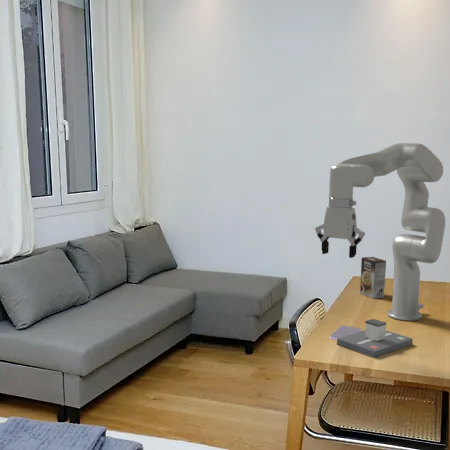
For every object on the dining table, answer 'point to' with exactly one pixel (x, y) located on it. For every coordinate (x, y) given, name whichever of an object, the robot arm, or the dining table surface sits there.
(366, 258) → the coffee box
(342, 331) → the mobile phone
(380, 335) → the slider knob
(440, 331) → the dining table surface
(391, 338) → the switch panel
